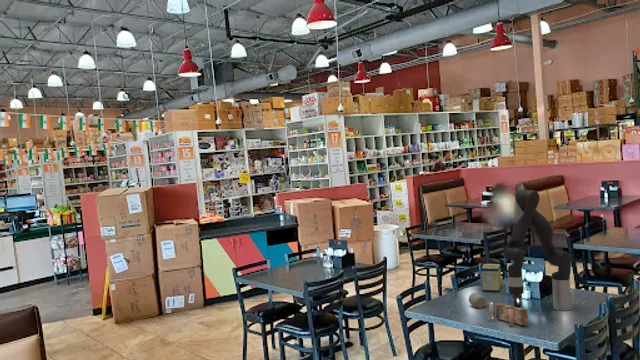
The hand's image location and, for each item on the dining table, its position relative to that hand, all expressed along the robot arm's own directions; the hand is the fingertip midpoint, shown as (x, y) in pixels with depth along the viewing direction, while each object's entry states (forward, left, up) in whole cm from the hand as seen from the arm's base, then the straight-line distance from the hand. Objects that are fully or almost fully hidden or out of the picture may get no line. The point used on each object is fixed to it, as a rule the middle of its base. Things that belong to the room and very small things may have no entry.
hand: (517, 316), depth 284 cm
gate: (+4, +4, -2) cm, 6 cm away
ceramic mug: (+17, -27, -3) cm, 32 cm away
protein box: (+6, -64, -3) cm, 65 cm away
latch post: (+5, +9, -3) cm, 10 cm away
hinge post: (+13, -2, -3) cm, 13 cm away
